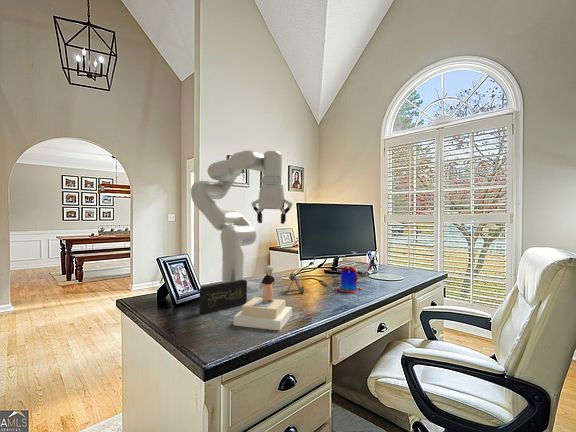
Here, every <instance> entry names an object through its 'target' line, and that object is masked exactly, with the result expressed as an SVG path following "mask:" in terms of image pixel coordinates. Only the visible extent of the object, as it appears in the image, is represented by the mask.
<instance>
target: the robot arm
mask: <svg viewBox="0 0 576 432" xmlns="http://www.w3.org/2000/svg"><path fill="white" fill-rule="evenodd" d="M282 155H283V154H282V153H281V152H280V151H277V150H268V151H267V150H266V151H265V152H264V153H262V152H258V151H254V150H242V151H239V152H235V153H233V154H232V155H230V158H227V159H223V160H219V161H215V162H212V163H211V164H210V165H209V166H208V167H207V174H208V176H209V178H211V179H212V180H214V181H208V180H199V181H196V182H194V183H193V184H192V186H191V188H190V197H191V199H192V202H193V204H194V205H195V207H196V208H197V209H198V210H199V211H200V212H201V213H202V214H203V215H204V217H205V218H206V219H207V220H208V221H209V223H210V224H211V225H212V227H213V228H214V229H215V230H216V231H219V232H220V231H221V233H220V241H221V242H220V244H221V249H222V253H221V254H222V258H221V259H222V261H221V262H222V268H221V283H225V282H231V281H237V280H244V276H245V275H244V274H245V273H244V272H245V271H244V270H245V268H244V267H245V266H244V265H245V255H244V252H243V249H242V247H243V246H250V245H252V244H254V243H255V242H256V240H257V231H256V229H255V228H254V227H253V226H252V223H250V222H249V220H248V219H247V218H246V217H245V216H243V214H241V213H240V212H239V211H236V210H235V211H233V210H225V209H223V208H222V206H221V205H220V204H219V203H218V202H217V201H215V200H222V199H223V198H224V197H225V196H226V195H227V194H228V192H229V190H230V189H231V188H232V186H233V185H234V183H235V181H236V179H237V177H239V176H240V175H241V174H242V171H243V170H252V171H257V172H263V173H262V178H260V179H259V183H262V184H261V185H260V188H259V191H258V192H259V194H258V199H257V200H254V201H252V202H251V203H250V204H251V206H252V208H253V210H254V211H255V212H256V214H257V215H256V219H257V224H262V223H263V213H262V212H263V211H264V210H280V212H281V213H280V224H281V225H284V224H285V223H286V220H287V219H286V217H287V216H286V215H287V213H289V211H290V210H291V208H292V206H293V203H292V202H291V201H289V200H287V199H286V198H285V192H284V186H283V184H282V171H283V169H282V168H283V167H282V166H283V163H282V162H283V156H282ZM285 204H287V207H286V208H285ZM257 206H258V207H257Z"/></svg>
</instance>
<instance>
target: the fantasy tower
mask: <svg viewBox="0 0 576 432" xmlns="http://www.w3.org/2000/svg"><path fill="white" fill-rule="evenodd" d="M340 276H341V277H340V279H341V280H340V287H339V288H338V287H336V288H334V289H333V290H334V291H340V292H344V293H349V294H356V293H357V292H361V290H363V288H361V287H358V288H357V284H358V283H357V282H358V272H357V270H356V269H355V268H354V267H353V266H351V265H350V266H349V267H348V266H344V267H343V268H342V269H341V270H340ZM363 291H364V290H363Z"/></svg>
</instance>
